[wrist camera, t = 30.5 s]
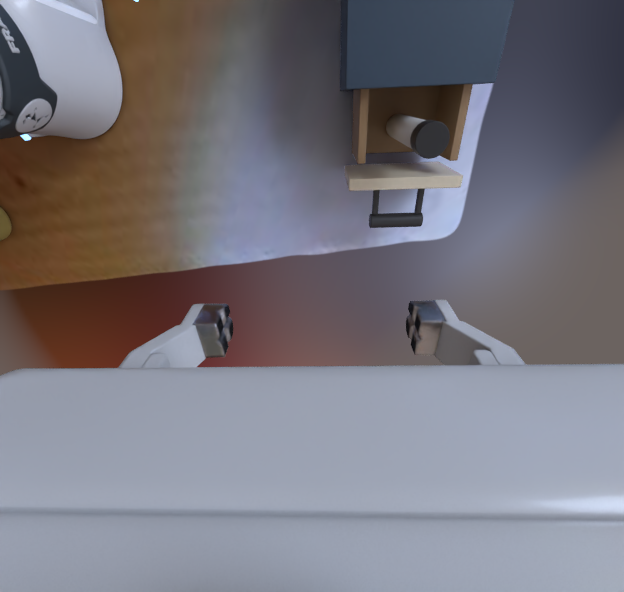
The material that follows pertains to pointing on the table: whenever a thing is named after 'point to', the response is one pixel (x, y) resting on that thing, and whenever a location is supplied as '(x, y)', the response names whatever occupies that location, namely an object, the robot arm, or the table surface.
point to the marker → (419, 134)
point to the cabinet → (421, 42)
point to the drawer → (374, 139)
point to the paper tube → (4, 225)
